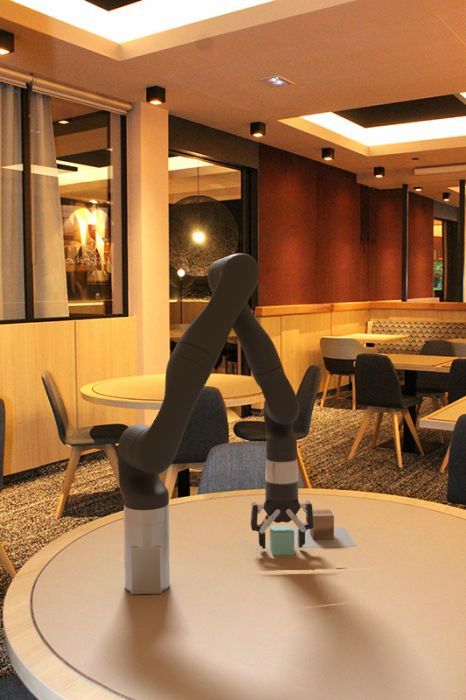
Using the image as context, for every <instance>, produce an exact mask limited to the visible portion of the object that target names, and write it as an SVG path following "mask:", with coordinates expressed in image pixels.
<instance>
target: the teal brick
mask: <svg viewBox="0 0 466 700" xmlns="http://www.w3.org/2000/svg"><path fill="white" fill-rule="evenodd" d="M292 528H293V527H292V525H270V526H269V549H270V552H271V555H272V556H294V555H295V541H294V531H293V529H292Z"/></svg>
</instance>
